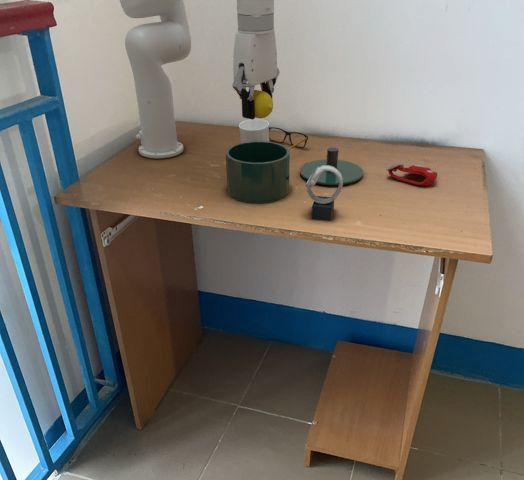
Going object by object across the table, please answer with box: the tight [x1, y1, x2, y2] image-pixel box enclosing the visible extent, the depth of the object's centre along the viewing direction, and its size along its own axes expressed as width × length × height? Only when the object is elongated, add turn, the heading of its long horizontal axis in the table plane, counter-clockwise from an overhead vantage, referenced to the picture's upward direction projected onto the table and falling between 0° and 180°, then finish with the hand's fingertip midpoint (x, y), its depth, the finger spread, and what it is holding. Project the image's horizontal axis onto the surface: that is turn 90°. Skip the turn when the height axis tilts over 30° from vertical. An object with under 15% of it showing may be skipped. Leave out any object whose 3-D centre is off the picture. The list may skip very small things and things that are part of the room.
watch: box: [305, 165, 344, 222], centre depth 124 cm, size 6×8×11 cm
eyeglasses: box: [269, 126, 309, 150], centre depth 158 cm, size 14×14×4 cm
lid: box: [299, 146, 364, 186], centre depth 143 cm, size 16×16×7 cm
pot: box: [225, 141, 291, 204], centre depth 135 cm, size 15×15×10 cm
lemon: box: [252, 89, 274, 119], centre depth 125 cm, size 9×6×6 cm, turn 52°
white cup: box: [238, 118, 270, 143], centre depth 149 cm, size 8×8×10 cm
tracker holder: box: [385, 163, 438, 187], centre depth 141 cm, size 12×4×10 cm
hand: (257, 113), depth 127 cm, fingers closed on lemon, 5 cm apart
